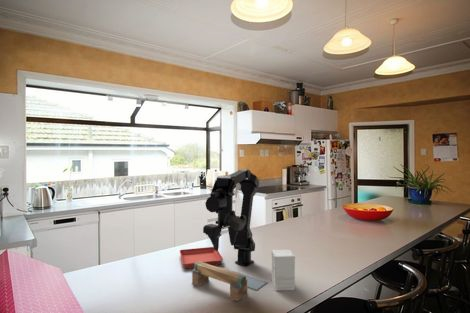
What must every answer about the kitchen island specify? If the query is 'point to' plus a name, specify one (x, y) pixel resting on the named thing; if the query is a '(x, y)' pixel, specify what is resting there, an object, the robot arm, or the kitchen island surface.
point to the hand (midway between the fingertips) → (224, 248)
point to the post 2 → (237, 291)
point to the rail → (220, 274)
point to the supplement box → (283, 270)
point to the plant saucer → (200, 256)
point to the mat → (252, 281)
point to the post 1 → (198, 278)
